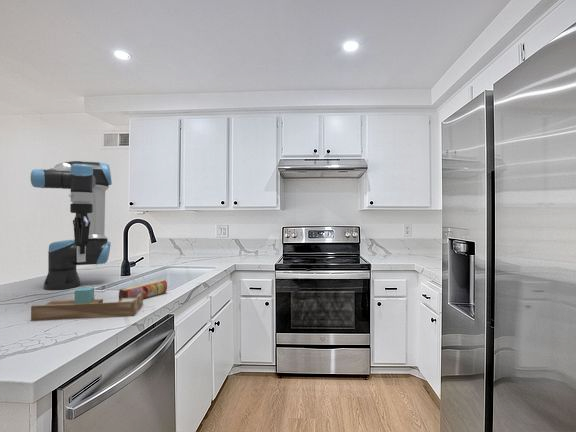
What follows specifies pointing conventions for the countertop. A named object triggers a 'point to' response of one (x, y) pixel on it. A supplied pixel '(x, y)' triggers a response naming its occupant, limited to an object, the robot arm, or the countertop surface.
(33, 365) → the countertop surface
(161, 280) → the snack package
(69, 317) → the trap board
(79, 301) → the teal block
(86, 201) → the robot arm
